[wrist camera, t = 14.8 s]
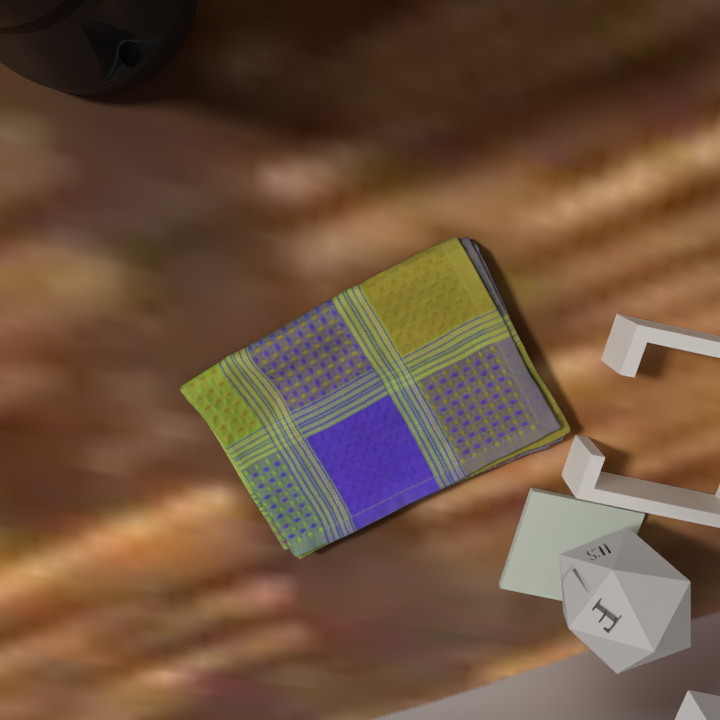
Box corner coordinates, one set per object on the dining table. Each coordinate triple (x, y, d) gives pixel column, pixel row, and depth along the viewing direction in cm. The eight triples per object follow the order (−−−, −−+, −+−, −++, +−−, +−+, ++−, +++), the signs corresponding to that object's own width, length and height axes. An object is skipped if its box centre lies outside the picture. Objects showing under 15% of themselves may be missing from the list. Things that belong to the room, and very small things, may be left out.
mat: (530, 487, 46) (532, 491, 45) (641, 510, 46) (645, 514, 46) (498, 583, 48) (500, 588, 48) (604, 604, 49) (607, 609, 48)
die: (578, 490, 45) (633, 571, 36) (675, 538, 46) (754, 630, 37) (520, 574, 47) (556, 672, 38) (614, 618, 48) (673, 725, 39)
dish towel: (179, 370, 45) (166, 381, 42) (476, 222, 41) (484, 224, 38) (289, 551, 49) (284, 572, 46) (568, 432, 45) (580, 447, 43)
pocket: (616, 313, 42) (637, 324, 39) (791, 351, 42) (826, 365, 39) (561, 475, 46) (576, 498, 42) (722, 508, 46) (749, 533, 43)
